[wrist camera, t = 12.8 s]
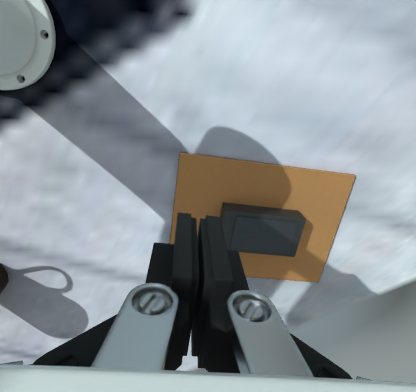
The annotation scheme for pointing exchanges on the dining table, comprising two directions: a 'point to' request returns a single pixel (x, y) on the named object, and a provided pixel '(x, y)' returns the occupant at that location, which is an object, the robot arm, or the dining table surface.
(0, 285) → the coffee mug
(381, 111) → the dining table surface
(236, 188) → the cork mat
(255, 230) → the block
